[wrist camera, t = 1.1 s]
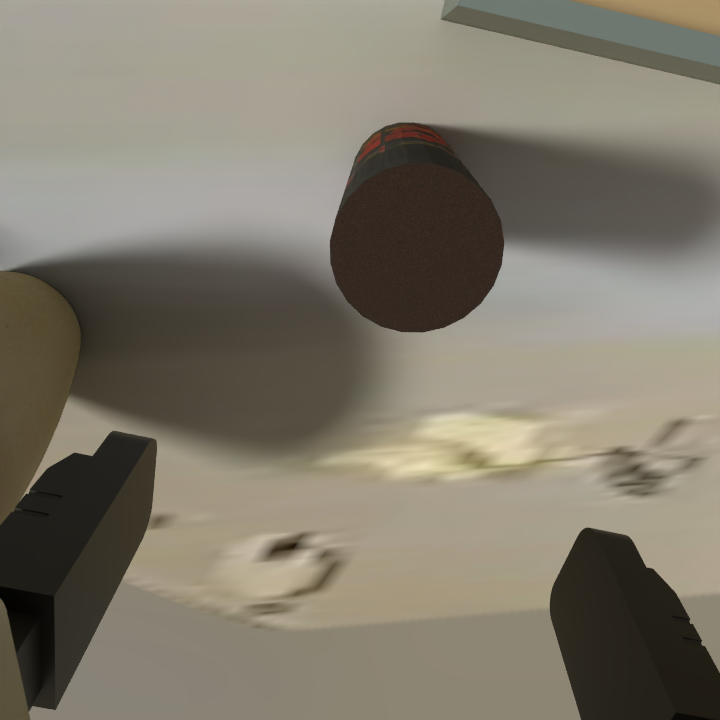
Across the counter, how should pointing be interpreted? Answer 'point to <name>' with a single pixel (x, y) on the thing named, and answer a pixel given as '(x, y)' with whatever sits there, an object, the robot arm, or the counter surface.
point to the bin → (610, 29)
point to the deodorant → (414, 233)
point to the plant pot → (31, 377)
